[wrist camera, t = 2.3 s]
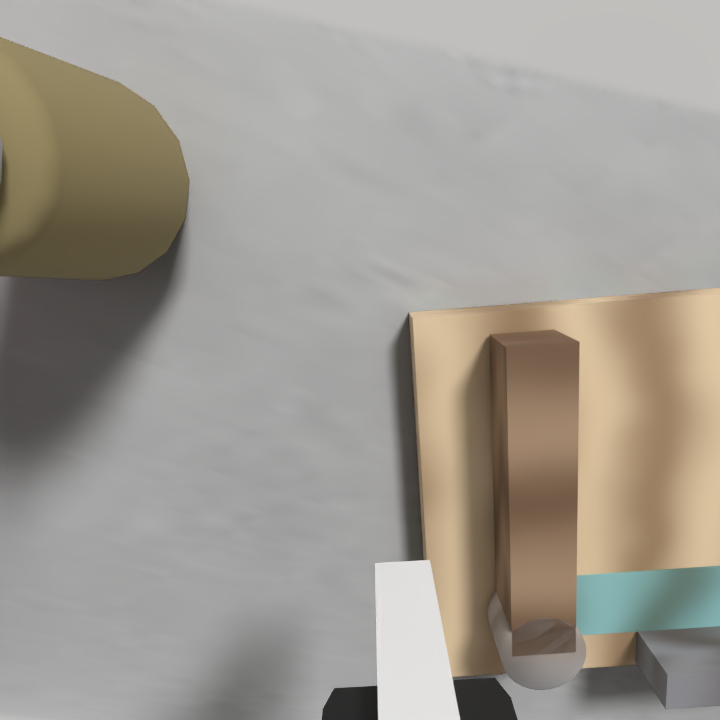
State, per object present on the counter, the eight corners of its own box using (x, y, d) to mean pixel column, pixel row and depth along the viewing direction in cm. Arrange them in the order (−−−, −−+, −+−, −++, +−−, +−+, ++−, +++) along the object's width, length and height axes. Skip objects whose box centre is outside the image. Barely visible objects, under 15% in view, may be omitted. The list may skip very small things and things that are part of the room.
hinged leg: (562, 641, 29) (585, 686, 26) (488, 645, 29) (502, 692, 26) (564, 328, 25) (591, 340, 22) (478, 335, 25) (494, 348, 22)
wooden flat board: (429, 650, 31) (441, 726, 27) (408, 312, 27) (419, 329, 22) (809, 625, 31) (893, 697, 26) (853, 277, 27) (963, 286, 22)
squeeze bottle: (241, 234, 26) (-2, 233, 9) (96, 299, 27) (-401, 419, 9) (164, 67, 24) (-332, -357, 7) (12, 141, 25) (-785, -74, 8)
